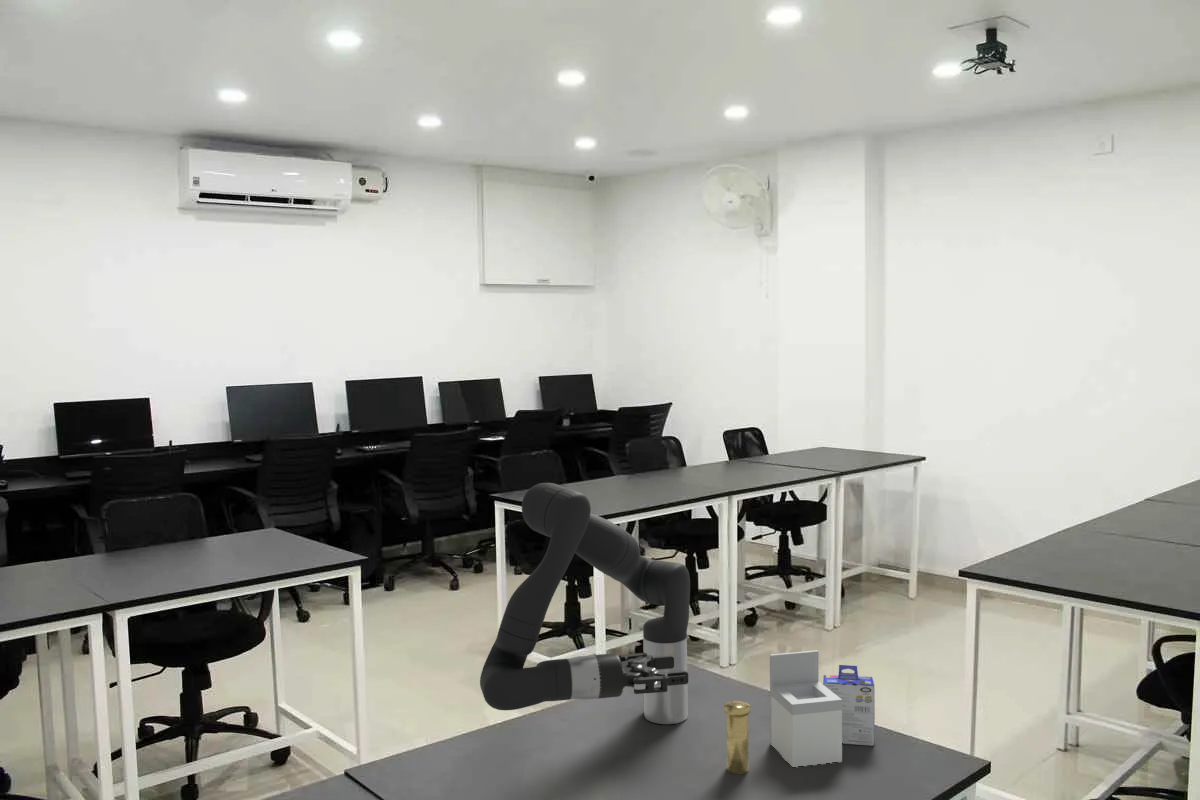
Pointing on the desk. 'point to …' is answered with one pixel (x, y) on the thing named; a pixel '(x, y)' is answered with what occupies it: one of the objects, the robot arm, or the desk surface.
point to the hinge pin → (737, 736)
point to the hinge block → (803, 711)
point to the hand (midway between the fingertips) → (680, 669)
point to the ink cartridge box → (854, 705)
